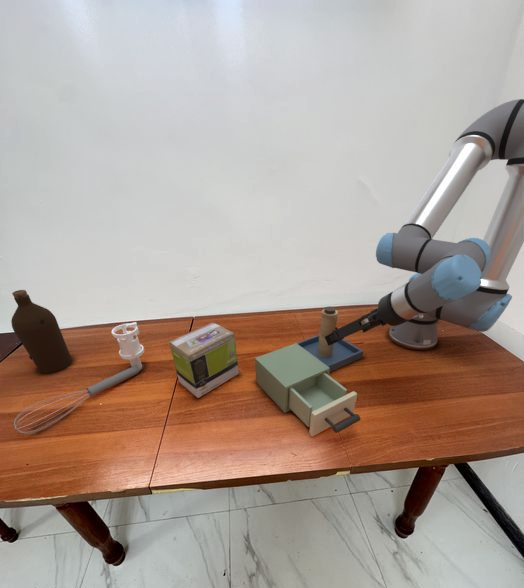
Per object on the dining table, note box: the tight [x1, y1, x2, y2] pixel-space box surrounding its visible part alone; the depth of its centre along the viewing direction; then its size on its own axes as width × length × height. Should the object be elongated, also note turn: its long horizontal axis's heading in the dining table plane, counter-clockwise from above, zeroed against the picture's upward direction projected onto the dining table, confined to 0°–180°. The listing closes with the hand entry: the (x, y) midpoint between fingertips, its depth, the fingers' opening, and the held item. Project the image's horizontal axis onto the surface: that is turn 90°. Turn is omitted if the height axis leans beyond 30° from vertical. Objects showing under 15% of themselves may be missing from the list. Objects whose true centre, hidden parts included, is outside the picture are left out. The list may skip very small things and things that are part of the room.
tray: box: [296, 334, 364, 373], centre depth 96 cm, size 18×16×3 cm
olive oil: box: [10, 289, 73, 374], centre depth 88 cm, size 11×11×25 cm
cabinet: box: [254, 342, 331, 413], centre depth 81 cm, size 15×14×9 cm
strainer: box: [111, 321, 145, 370], centre depth 89 cm, size 7×7×15 cm
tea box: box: [168, 321, 240, 399], centre depth 83 cm, size 15×10×15 cm, turn 135°
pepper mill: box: [318, 306, 339, 358], centre depth 92 cm, size 5×5×16 cm
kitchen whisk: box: [13, 365, 145, 435], centre depth 79 cm, size 6×34×6 cm, turn 142°
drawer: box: [288, 373, 361, 437], centre depth 72 cm, size 18×13×7 cm
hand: (345, 334), depth 85 cm, fingers open, 13 cm apart
